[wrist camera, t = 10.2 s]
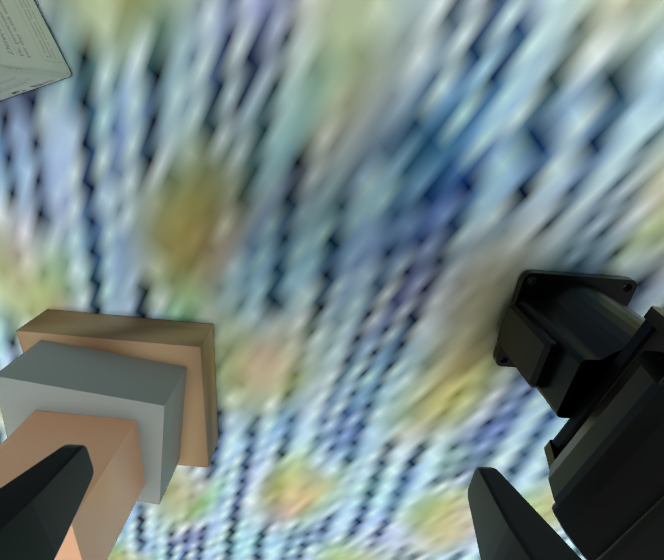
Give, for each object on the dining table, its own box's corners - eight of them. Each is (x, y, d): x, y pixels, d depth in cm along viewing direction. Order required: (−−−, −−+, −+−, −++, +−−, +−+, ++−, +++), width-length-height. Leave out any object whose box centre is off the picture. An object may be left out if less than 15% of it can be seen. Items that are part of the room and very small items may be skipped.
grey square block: (186, 366, 20) (164, 405, 18) (179, 459, 24) (159, 504, 21) (40, 339, 20) (-7, 375, 17) (54, 439, 23) (17, 482, 20)
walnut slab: (216, 318, 22) (200, 347, 20) (221, 431, 27) (208, 467, 24) (55, 304, 22) (16, 330, 19) (86, 420, 26) (57, 455, 24)
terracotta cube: (136, 420, 18) (70, 522, 14) (145, 484, 20) (90, 591, 16) (35, 410, 18) (-67, 511, 13) (54, 476, 20) (-28, 582, 15)
